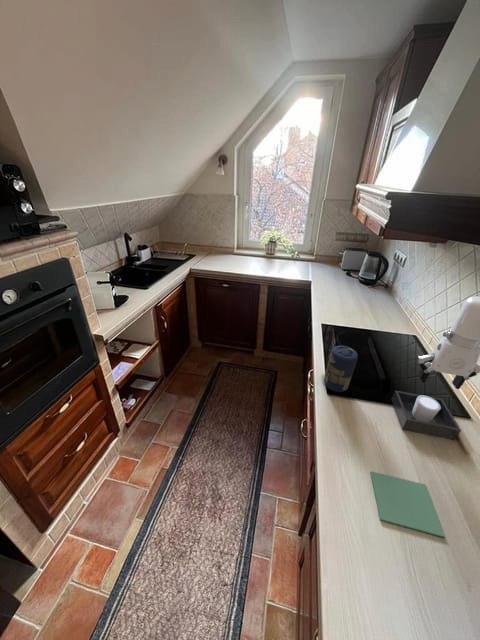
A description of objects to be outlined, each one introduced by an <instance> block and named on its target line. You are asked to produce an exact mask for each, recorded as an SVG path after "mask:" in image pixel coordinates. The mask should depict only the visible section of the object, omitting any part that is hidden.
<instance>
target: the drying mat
mask: <svg viewBox="0 0 480 640" xmlns="http://www.w3.org/2000/svg"><path fill="white" fill-rule="evenodd" d="M370 478H371V481H372V488H373V493H374V497H375V502H376V507H377V512H378V516H379V517H378V518H379V521H381V522H385V523H388V524H392V525H395V526H400V527H403V528H406V529H410V530H413V531H417V532H421V533H424V534H428V535H432V536H436V537H440V538H443V539H445V538H446V535H445V532H444V529H443V527H442V524H441V522H440V519H439V516H438V513H437V510H436V508H435V505H434V503H433V501H432V498H431V495H430V492H429V489H428V487H427V485H426V484H424V483H421V482H418V481H417V482H416V481H413V480H409V479H404V478H400V477H397V476H393V475H388V474H384V473H380V472H375V471H370Z"/></svg>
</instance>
